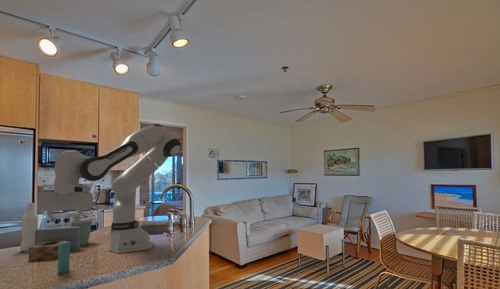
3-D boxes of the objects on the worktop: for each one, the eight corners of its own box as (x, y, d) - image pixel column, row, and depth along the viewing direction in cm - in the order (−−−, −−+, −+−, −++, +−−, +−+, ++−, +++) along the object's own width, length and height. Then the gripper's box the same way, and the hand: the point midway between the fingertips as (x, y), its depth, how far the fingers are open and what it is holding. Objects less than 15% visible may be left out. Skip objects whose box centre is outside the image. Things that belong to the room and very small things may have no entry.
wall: (79, 249, 144) (80, 226, 145) (77, 250, 141) (78, 227, 142) (37, 252, 140) (38, 228, 141) (34, 254, 137) (35, 230, 138)
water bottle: (22, 253, 139) (25, 204, 141) (17, 251, 143) (20, 203, 145) (39, 249, 145) (41, 202, 147) (33, 247, 149) (36, 202, 151)
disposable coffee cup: (95, 241, 158) (96, 216, 159) (85, 247, 147) (85, 219, 149) (77, 242, 158) (78, 216, 159) (65, 247, 147) (66, 220, 148)
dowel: (70, 269, 114) (71, 240, 115) (66, 273, 110) (67, 243, 111) (60, 270, 113) (61, 241, 114) (55, 274, 109) (56, 244, 110)
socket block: (68, 251, 140) (69, 239, 140) (57, 258, 128) (57, 245, 129) (42, 253, 137) (43, 241, 138) (28, 261, 126) (29, 247, 126)
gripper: (34, 189, 109) (32, 224, 108) (89, 187, 113) (88, 221, 112) (43, 188, 115) (41, 221, 114) (94, 186, 120) (94, 218, 118)
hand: (65, 221), depth 113 cm, fingers open, 8 cm apart
